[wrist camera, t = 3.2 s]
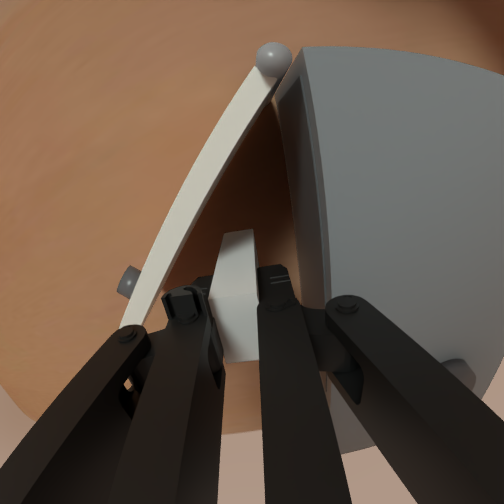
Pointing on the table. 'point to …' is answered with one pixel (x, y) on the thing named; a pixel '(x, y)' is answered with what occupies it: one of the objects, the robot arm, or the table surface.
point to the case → (400, 201)
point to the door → (203, 181)
